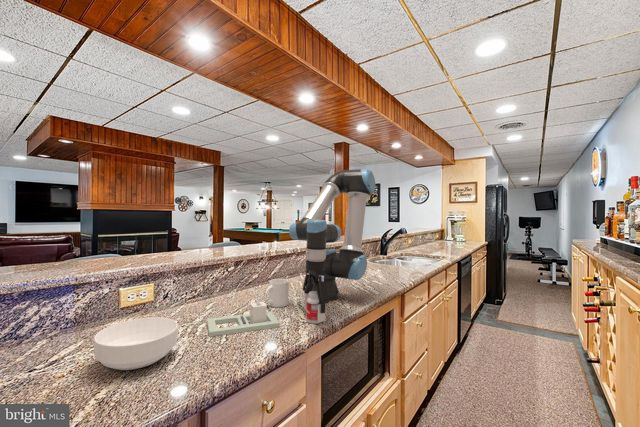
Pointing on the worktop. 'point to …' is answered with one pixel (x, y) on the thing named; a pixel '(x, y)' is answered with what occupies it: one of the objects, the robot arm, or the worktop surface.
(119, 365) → the bowl
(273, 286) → the mug
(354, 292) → the worktop surface
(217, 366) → the worktop surface
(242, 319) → the faceplate
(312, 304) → the pill bottle
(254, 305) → the block
